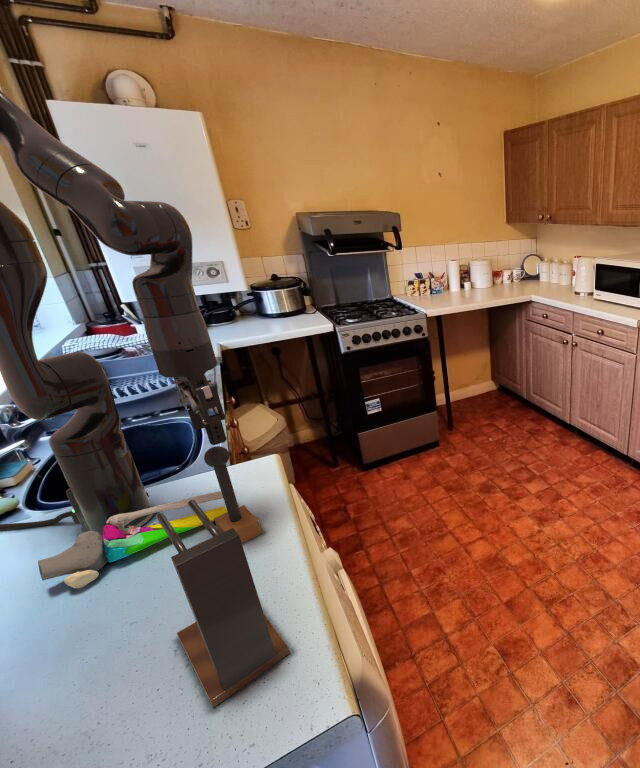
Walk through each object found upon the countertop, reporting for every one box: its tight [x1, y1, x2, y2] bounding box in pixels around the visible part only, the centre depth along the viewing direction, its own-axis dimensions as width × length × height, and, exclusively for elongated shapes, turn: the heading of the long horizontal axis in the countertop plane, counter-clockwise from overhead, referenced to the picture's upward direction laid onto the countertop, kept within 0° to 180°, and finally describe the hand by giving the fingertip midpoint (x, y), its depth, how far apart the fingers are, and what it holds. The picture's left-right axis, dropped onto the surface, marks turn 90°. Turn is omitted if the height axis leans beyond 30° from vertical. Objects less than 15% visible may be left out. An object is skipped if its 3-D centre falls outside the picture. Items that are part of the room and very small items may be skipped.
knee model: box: [37, 490, 227, 589], centre depth 75 cm, size 9×8×25 cm
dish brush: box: [203, 445, 263, 544], centre depth 77 cm, size 7×5×18 cm
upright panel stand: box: [155, 500, 291, 708], centre depth 55 cm, size 14×9×20 cm, turn 49°
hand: (210, 435), depth 73 cm, fingers open, 8 cm apart
